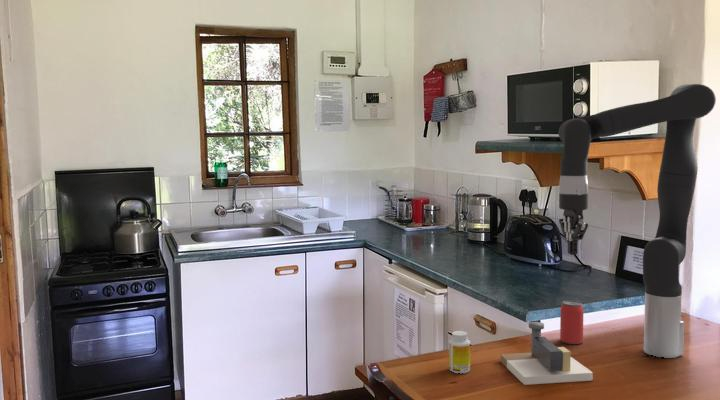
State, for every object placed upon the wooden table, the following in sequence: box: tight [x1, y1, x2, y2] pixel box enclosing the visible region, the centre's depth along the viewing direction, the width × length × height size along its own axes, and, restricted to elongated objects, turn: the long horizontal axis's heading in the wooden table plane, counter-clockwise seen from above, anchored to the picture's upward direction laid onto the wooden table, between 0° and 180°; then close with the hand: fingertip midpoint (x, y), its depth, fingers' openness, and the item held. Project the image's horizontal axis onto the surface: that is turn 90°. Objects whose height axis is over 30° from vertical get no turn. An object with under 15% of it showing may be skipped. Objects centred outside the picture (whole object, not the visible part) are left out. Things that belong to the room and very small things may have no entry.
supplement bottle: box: [448, 330, 471, 375], centre depth 162 cm, size 6×6×10 cm
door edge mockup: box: [499, 321, 594, 386], centre depth 162 cm, size 18×17×11 cm
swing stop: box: [533, 336, 562, 371], centre depth 159 cm, size 12×3×5 cm, turn 4°
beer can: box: [559, 299, 584, 345], centre depth 185 cm, size 7×7×12 cm
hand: (572, 254), depth 170 cm, fingers closed
